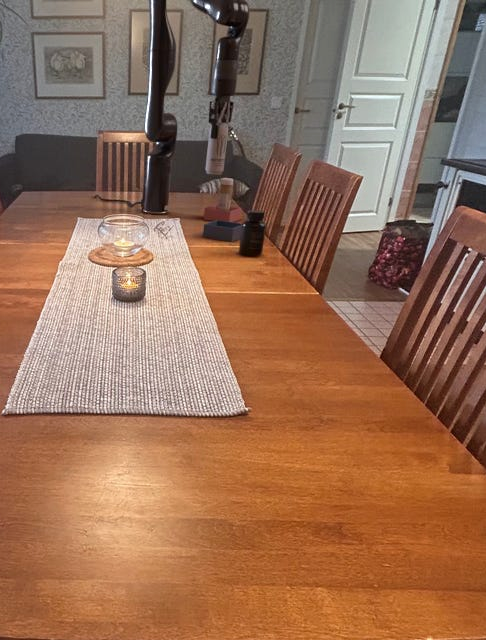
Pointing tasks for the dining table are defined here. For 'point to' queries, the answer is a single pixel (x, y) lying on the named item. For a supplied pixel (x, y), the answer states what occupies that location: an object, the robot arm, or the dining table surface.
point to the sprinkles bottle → (225, 194)
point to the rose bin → (222, 214)
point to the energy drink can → (217, 150)
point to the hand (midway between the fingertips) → (218, 137)
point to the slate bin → (222, 230)
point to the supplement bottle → (252, 234)
